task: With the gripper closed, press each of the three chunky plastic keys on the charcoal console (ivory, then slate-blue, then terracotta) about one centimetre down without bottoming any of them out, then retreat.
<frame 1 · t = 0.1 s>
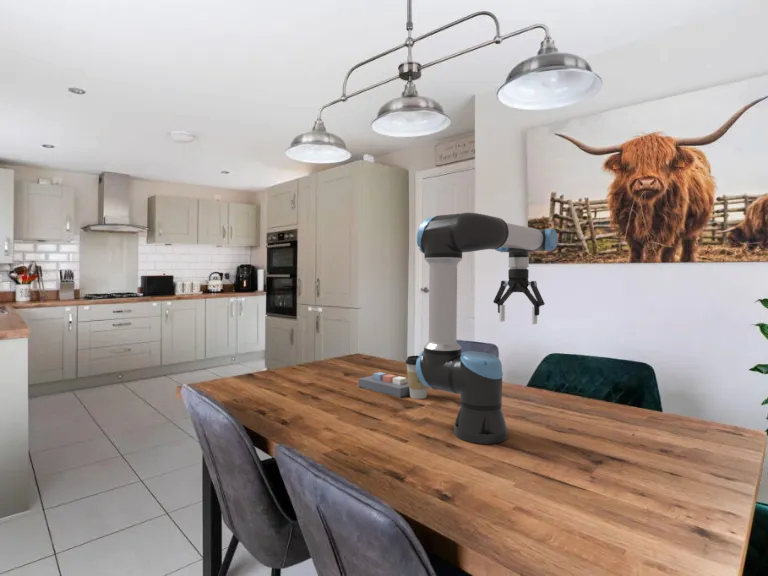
hand: (517, 322, 169), 28 cm above the table, fingers open, 13 cm apart
console: (389, 389, 176), on the table
key blue: (380, 376, 179), point 4 cm above the table, slide at 0.0 cm
coffee cup: (418, 397, 165), on the table
key ivory: (399, 381, 172), point 4 cm above the table, slide at 0.0 cm
key red: (389, 378, 176), point 4 cm above the table, slide at 0.0 cm
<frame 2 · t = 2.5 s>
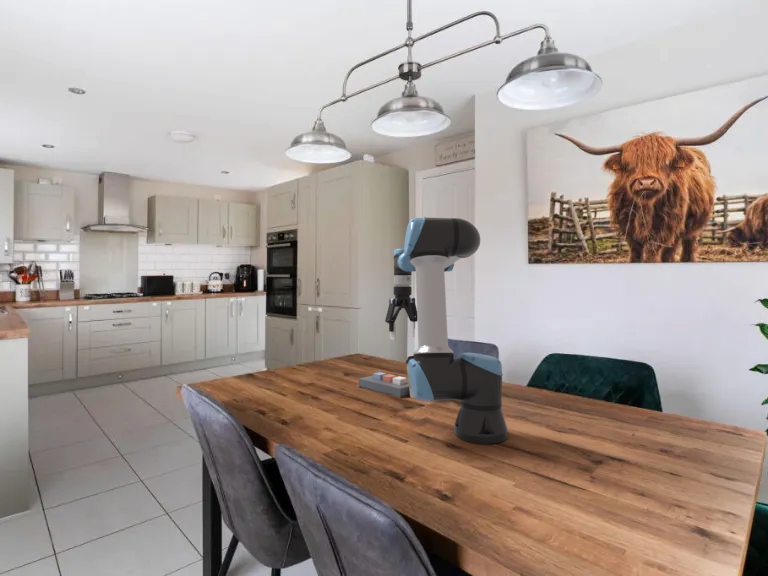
hand: (402, 338, 181), 20 cm above the table, fingers open, 11 cm apart
nothing on the table moved.
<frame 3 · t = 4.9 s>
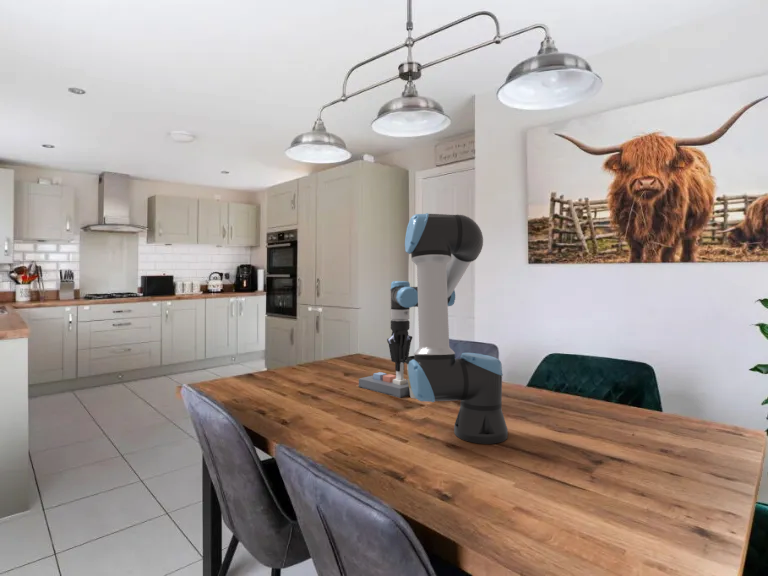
hand: (399, 378, 172), 5 cm above the table, fingers closed
key ivory: (399, 382, 172), point 4 cm above the table, slide at 0.6 cm, touching gripper
everything else where it was.
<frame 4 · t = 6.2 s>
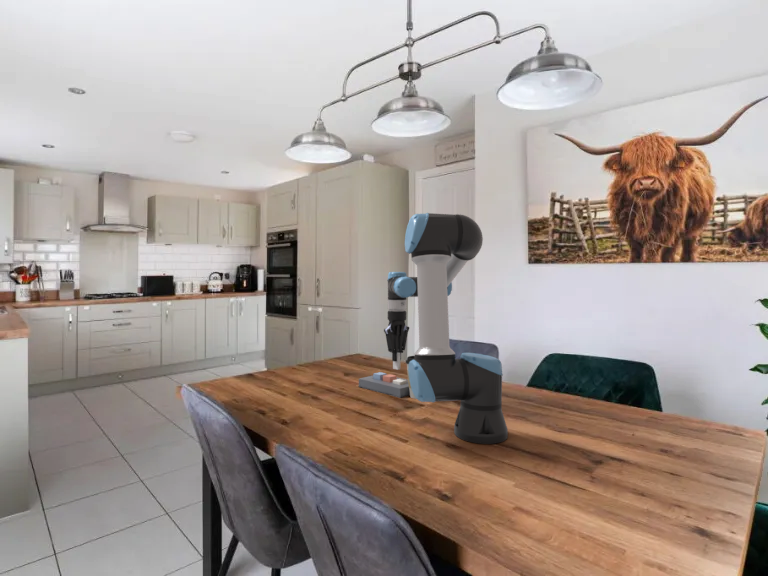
hand: (396, 368, 173), 9 cm above the table, fingers closed
key ivory: (399, 383, 172), point 3 cm above the table, slide at 1.0 cm
everything else where it was.
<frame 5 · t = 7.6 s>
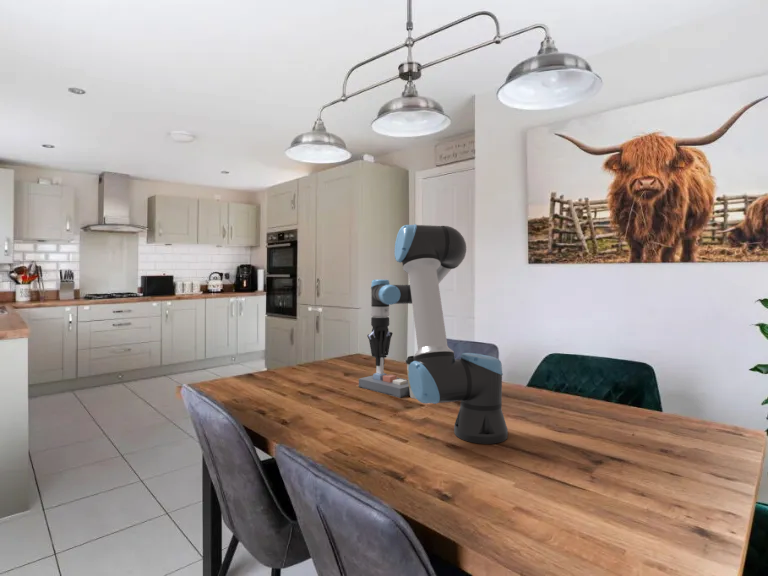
hand: (380, 373, 180), 6 cm above the table, fingers closed
key blue: (380, 376, 179), point 4 cm above the table, slide at 0.1 cm, touching gripper
everything else where it was.
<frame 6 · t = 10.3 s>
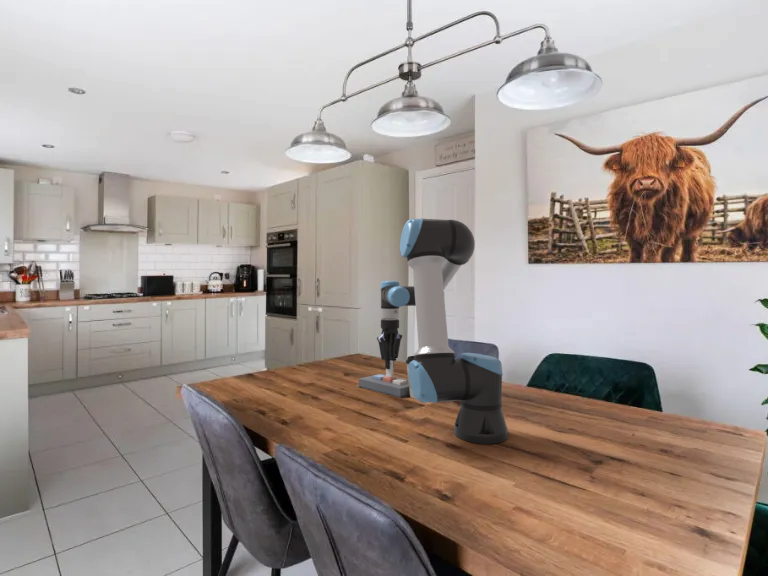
hand: (389, 376, 176), 5 cm above the table, fingers closed
key blue: (380, 378, 179), point 3 cm above the table, slide at 1.0 cm
key red: (389, 380, 176), point 4 cm above the table, slide at 0.6 cm, touching gripper
everything else where it was.
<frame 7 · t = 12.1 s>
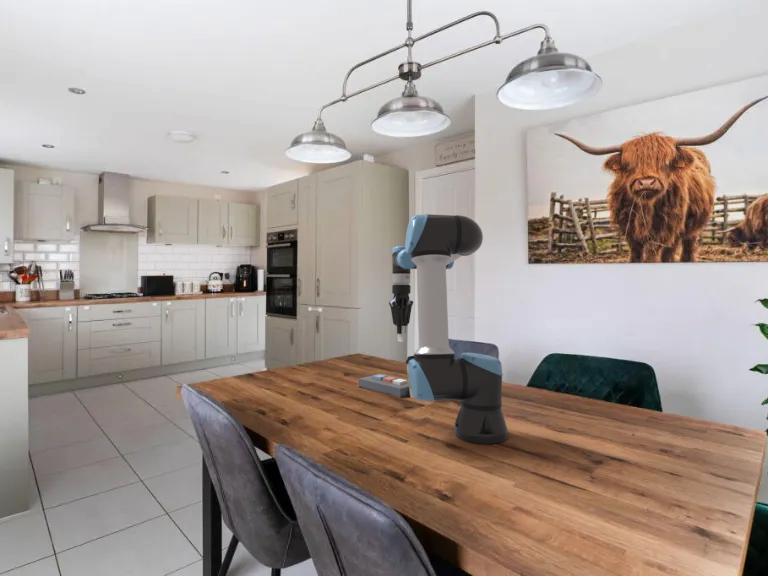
hand: (401, 341, 177), 19 cm above the table, fingers closed
key red: (389, 381, 176), point 3 cm above the table, slide at 1.0 cm
everything else where it was.
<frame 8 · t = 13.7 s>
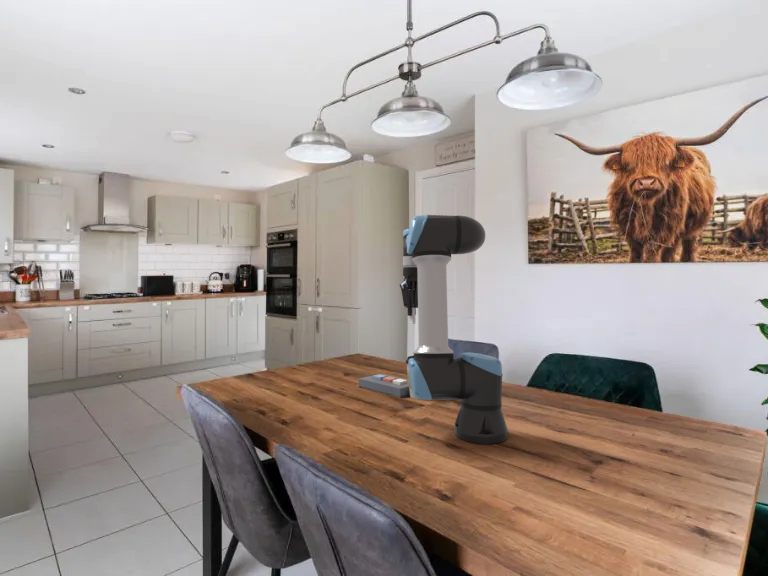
hand: (411, 323, 180), 26 cm above the table, fingers closed
nothing on the table moved.
at the end: key ivory slide at 1.0 cm; key blue slide at 1.0 cm; key red slide at 1.0 cm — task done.
